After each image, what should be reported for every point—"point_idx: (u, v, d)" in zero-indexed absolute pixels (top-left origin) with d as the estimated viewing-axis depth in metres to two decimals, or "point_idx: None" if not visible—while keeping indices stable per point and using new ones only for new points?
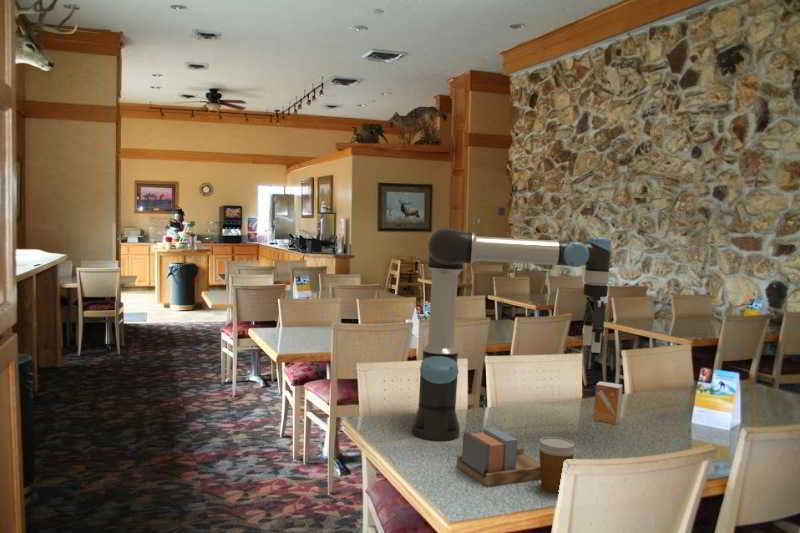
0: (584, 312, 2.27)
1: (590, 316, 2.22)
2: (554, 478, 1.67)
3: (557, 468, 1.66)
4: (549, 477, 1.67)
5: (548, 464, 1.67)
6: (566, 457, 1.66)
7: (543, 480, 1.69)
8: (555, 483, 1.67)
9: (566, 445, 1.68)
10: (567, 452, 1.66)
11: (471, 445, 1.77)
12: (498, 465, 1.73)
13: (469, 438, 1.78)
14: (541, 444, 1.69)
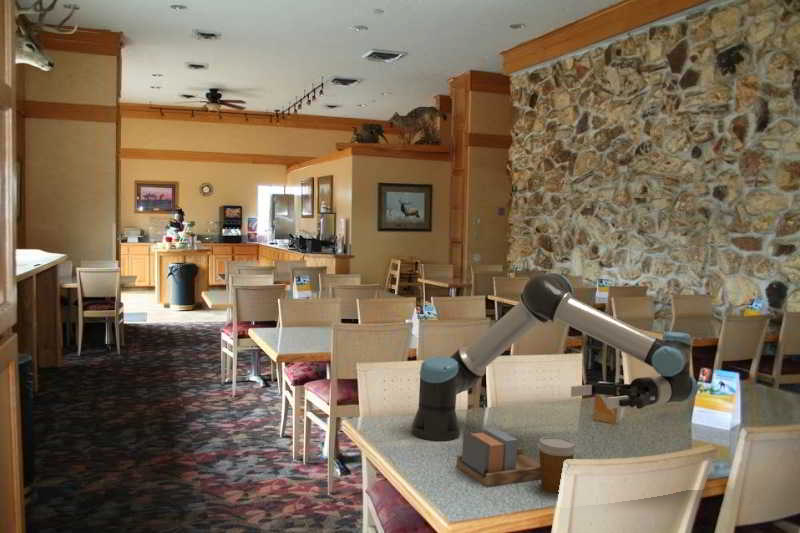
0: None
1: (606, 390, 1.83)
2: (554, 478, 1.67)
3: (557, 468, 1.66)
4: (549, 477, 1.67)
5: (548, 464, 1.67)
6: (566, 457, 1.66)
7: (543, 480, 1.69)
8: (555, 483, 1.67)
9: (566, 445, 1.68)
10: (567, 452, 1.66)
11: (471, 445, 1.77)
12: (498, 465, 1.73)
13: (469, 438, 1.78)
14: (541, 444, 1.69)
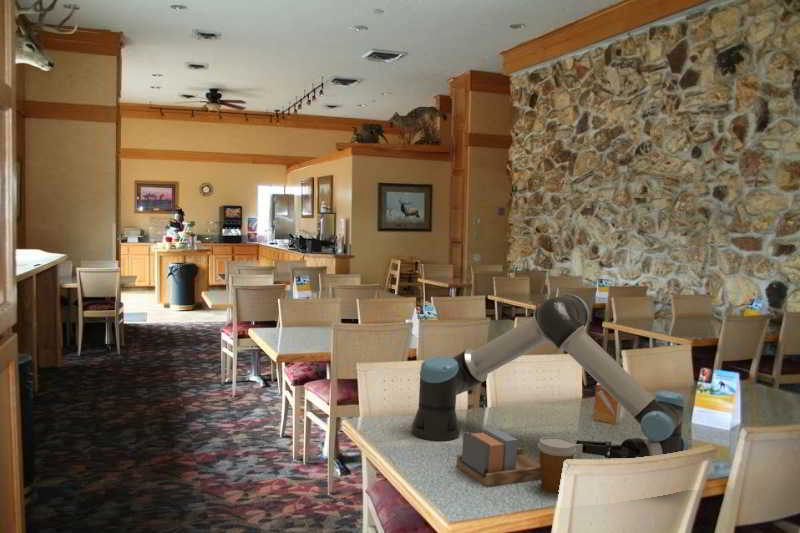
0: (589, 441, 1.85)
1: (596, 450, 1.82)
2: (554, 478, 1.67)
3: (557, 468, 1.66)
4: (549, 477, 1.67)
5: (548, 464, 1.67)
6: (566, 457, 1.66)
7: (543, 480, 1.69)
8: (555, 483, 1.67)
9: (566, 445, 1.68)
10: (567, 452, 1.66)
11: (471, 445, 1.77)
12: (498, 465, 1.73)
13: (469, 438, 1.78)
14: (541, 444, 1.69)
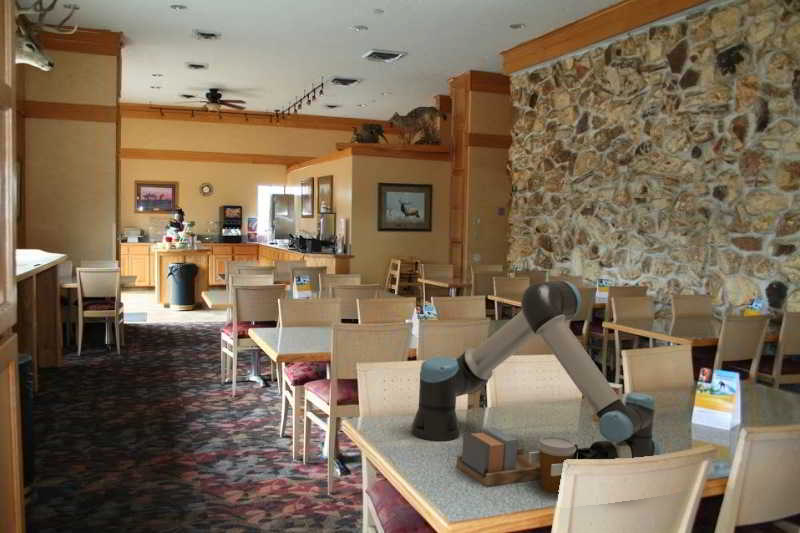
0: None
1: None
2: (554, 478, 1.67)
3: None
4: (549, 477, 1.67)
5: (548, 464, 1.67)
6: (566, 457, 1.66)
7: (543, 480, 1.69)
8: (555, 483, 1.67)
9: (566, 445, 1.68)
10: (567, 452, 1.66)
11: (471, 445, 1.77)
12: (498, 465, 1.73)
13: (469, 438, 1.78)
14: (541, 444, 1.69)
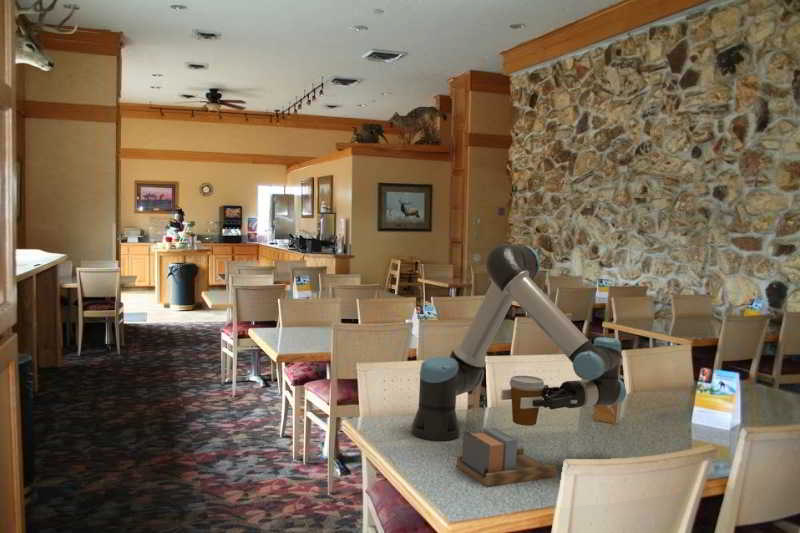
0: None
1: None
2: (524, 411, 1.78)
3: None
4: (519, 411, 1.79)
5: (518, 399, 1.79)
6: (535, 392, 1.78)
7: (514, 414, 1.81)
8: (525, 417, 1.79)
9: (535, 382, 1.80)
10: (536, 387, 1.77)
11: (471, 445, 1.77)
12: (498, 465, 1.73)
13: (469, 438, 1.78)
14: (512, 380, 1.80)
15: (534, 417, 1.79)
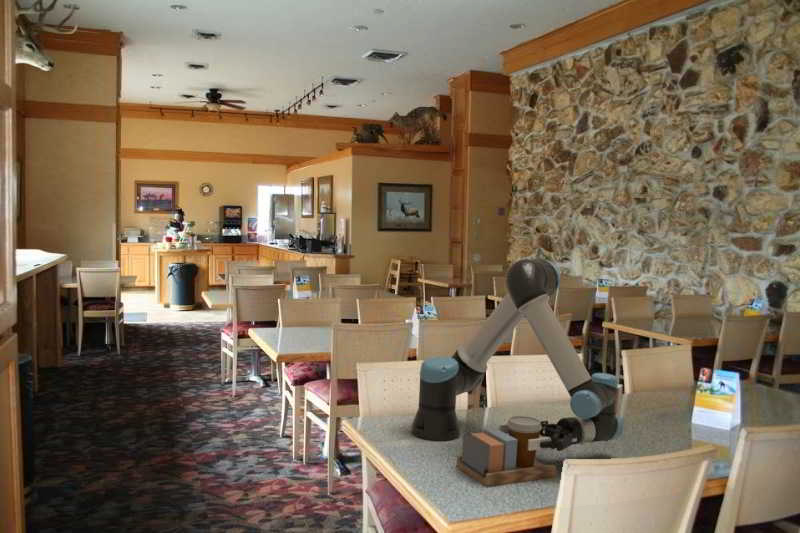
0: None
1: None
2: (521, 453, 1.79)
3: (524, 444, 1.79)
4: None
5: None
6: (532, 434, 1.78)
7: None
8: (522, 459, 1.79)
9: (532, 423, 1.81)
10: (533, 429, 1.78)
11: (471, 445, 1.77)
12: (498, 465, 1.73)
13: (469, 438, 1.78)
14: (509, 422, 1.81)
15: (531, 458, 1.80)
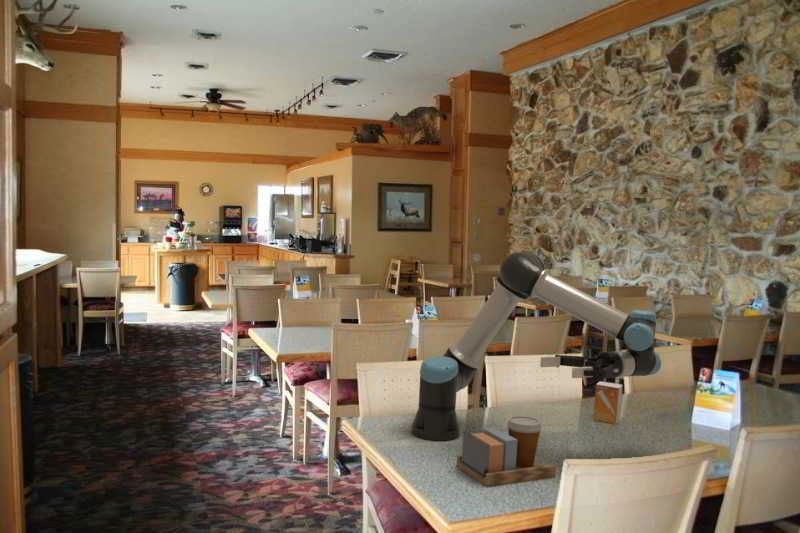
0: None
1: (573, 362, 1.94)
2: (521, 453, 1.79)
3: (524, 444, 1.79)
4: None
5: None
6: (532, 434, 1.78)
7: None
8: (522, 459, 1.79)
9: (532, 423, 1.81)
10: (533, 429, 1.78)
11: (471, 445, 1.77)
12: (498, 465, 1.73)
13: (469, 438, 1.78)
14: (509, 422, 1.81)
15: (531, 458, 1.80)
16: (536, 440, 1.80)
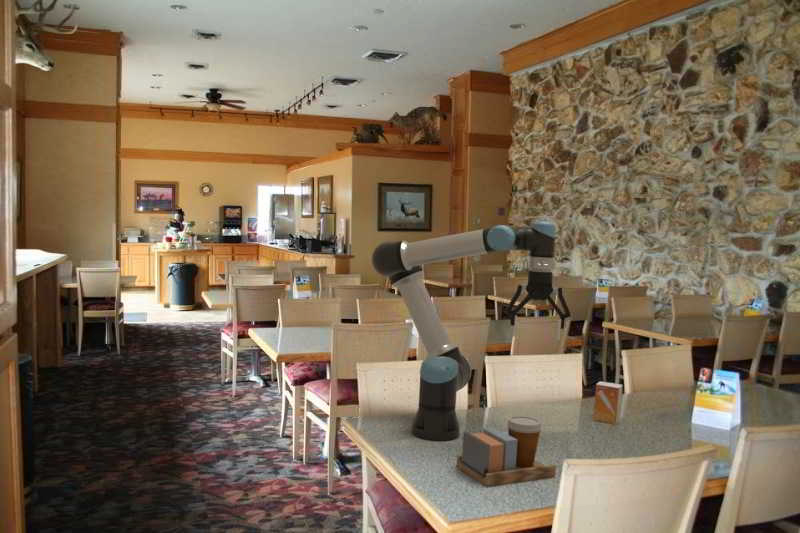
0: None
1: None
2: (521, 453, 1.79)
3: (524, 444, 1.79)
4: None
5: None
6: (532, 434, 1.78)
7: None
8: (522, 459, 1.79)
9: (532, 423, 1.81)
10: (533, 429, 1.78)
11: (471, 445, 1.77)
12: (498, 465, 1.73)
13: (469, 438, 1.78)
14: (509, 422, 1.81)
15: (531, 458, 1.80)
16: (536, 440, 1.80)
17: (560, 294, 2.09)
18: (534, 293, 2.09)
